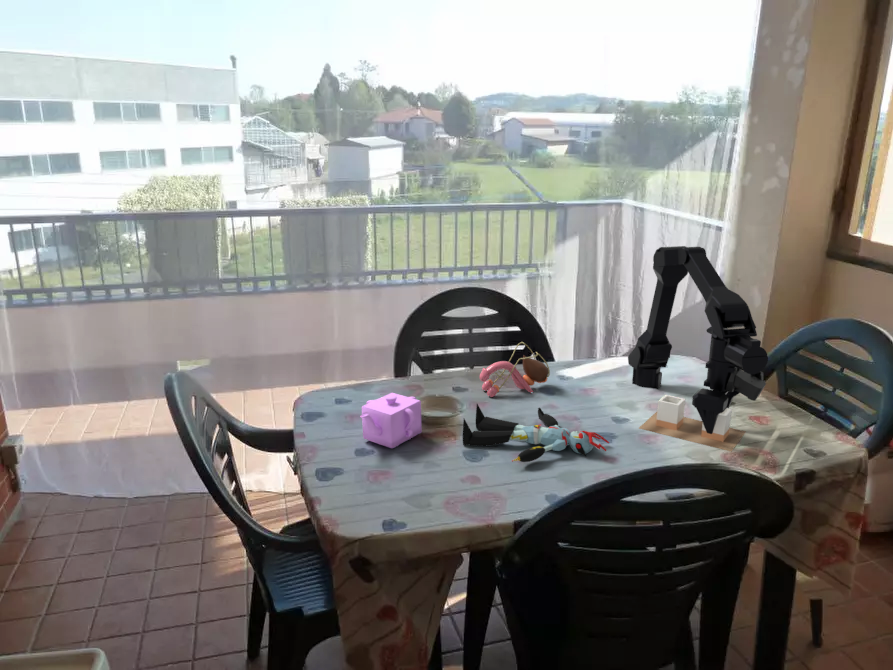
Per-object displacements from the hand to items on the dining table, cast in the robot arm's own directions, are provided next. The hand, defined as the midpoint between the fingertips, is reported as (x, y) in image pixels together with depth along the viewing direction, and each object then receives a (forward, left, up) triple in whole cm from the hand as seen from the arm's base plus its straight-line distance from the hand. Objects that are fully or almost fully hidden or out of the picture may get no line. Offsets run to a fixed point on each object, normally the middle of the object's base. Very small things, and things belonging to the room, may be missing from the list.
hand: (715, 426), depth 145 cm
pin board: (-5, 0, -3) cm, 6 cm away
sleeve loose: (0, 0, -2) cm, 2 cm away
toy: (-31, -24, -4) cm, 39 cm away
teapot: (-59, -41, -4) cm, 72 cm away
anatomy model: (-51, 0, -4) cm, 52 cm away
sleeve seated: (-10, 0, -2) cm, 10 cm away
